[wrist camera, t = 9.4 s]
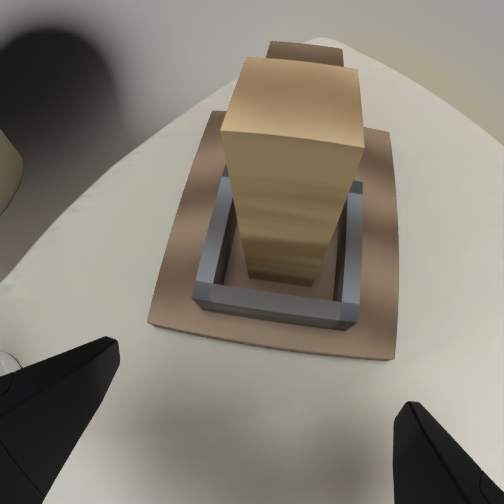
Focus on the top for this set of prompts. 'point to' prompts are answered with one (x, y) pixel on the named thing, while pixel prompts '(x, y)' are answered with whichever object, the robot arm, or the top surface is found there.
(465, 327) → the top surface
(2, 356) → the water bottle
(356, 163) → the beige block
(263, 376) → the top surface
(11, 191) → the sugar bowl
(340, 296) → the wooden fixture board
